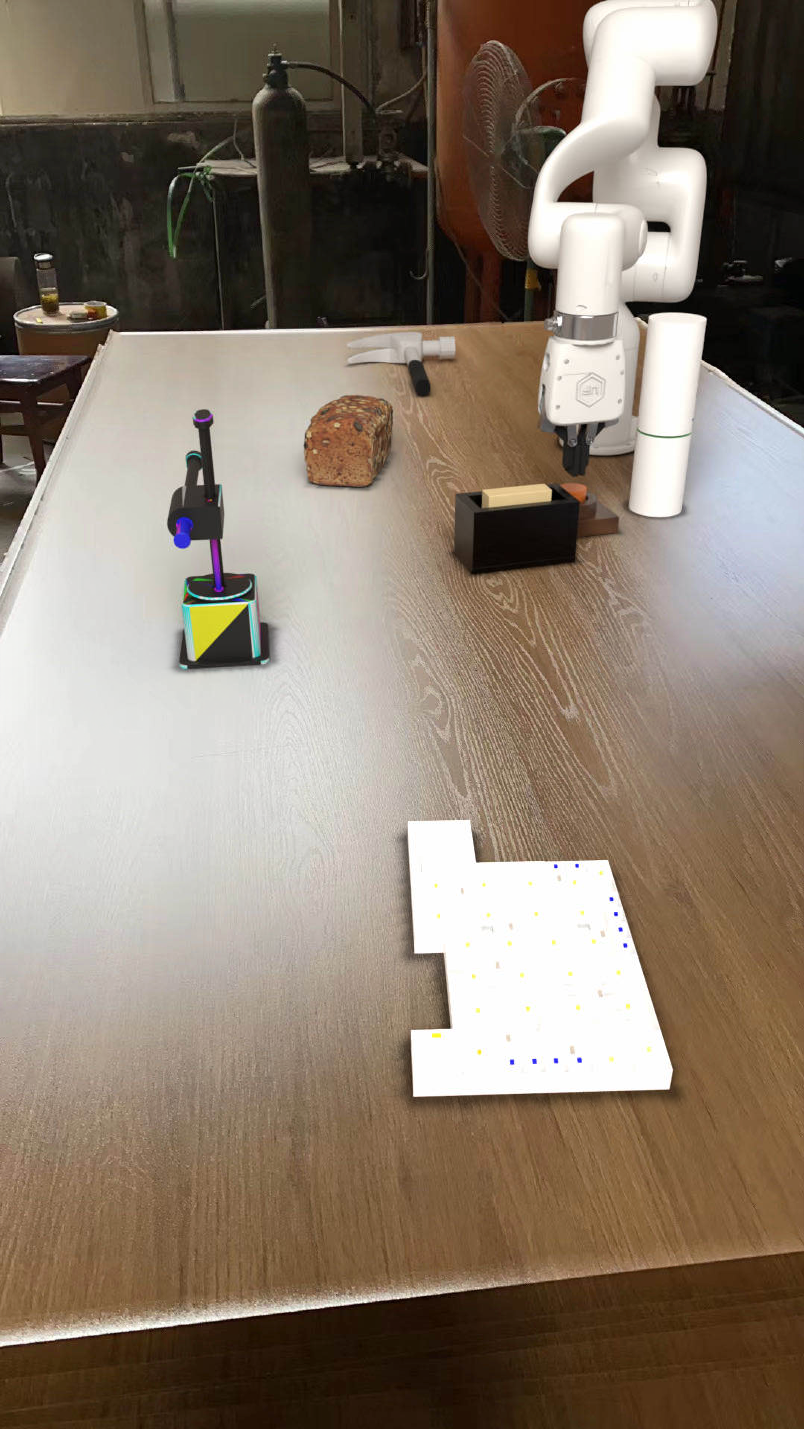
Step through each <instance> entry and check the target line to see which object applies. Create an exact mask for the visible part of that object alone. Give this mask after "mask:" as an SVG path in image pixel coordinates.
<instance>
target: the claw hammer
mask: <svg viewBox="0 0 804 1429" xmlns="http://www.w3.org/2000/svg"><path fill="white" fill-rule="evenodd" d="M455 338H456V337H455V336H438V339H434V340H432V339H431V340H429V339H428V340H423V334H422V332H420V331H400V332H398V331H396V332H390V333H381V334H375V335H369V336H366V337H362V338H359V339H356V340H352V341H350V342H348V343H347V349H349V350H359V349H370V350H367V351H363V352H360V353H357V354H354V355H352V356H349V358H348V359H347V364H359V363H388V364H389V363H390V364H406V365H407V368H408V374H409V375H410V378H411V381H412V385H413V388H414V390H415V392H416V395H418V396H420V397H426V396H429V394H430V392H431V382H430V379H429V377H428V375H427V372H426V369H425V367H424V364H423V362H422V361H423V357H438V359H439V360H454V359H455V357H456V348H457V346H456V339H455Z"/></svg>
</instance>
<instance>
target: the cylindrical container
mask: <svg viewBox="0 0 804 1429" xmlns="http://www.w3.org/2000/svg"><path fill="white" fill-rule="evenodd" d="M707 320H708V319H707V317H705V316H703V315H701V314H694V313H688V312H686V313H685V312H660V313H659V312H658V313H653V314H651V315H649V316H648V320H647V322H648V323H647V330H646V340H645V348H644V349H645V350H644V357H643V366H642V367H643V368H642V377H641V385H640V394H639V396H640V397H639V405H638V416H637V417H638V423H637V432H636V442H635V450H634V454H633V461H632V472H631V482H630V491H629V499H628V500H629V501H628V509H629V510H630V511H631V512H633V513H635V514H637V515H641V516H644V517H645V516H646V517H652V518H669V517H673V516H677V515H679V514H680V513H681V512H682V509H683V501H684V495H685V486H686V478H687V470H688V464H689V457H690V448H691V441H692V433H693V428H694V427H693V426H694V419H695V411H696V404H697V396H698V389H699V388H698V387H699V380H700V373H701V372H700V371H701V365H702V356H703V350H704V342H705V335H706V334H705V333H706V326H707Z"/></svg>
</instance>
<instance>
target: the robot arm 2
mask: <svg viewBox="0 0 804 1429" xmlns="http://www.w3.org/2000/svg"><path fill="white" fill-rule="evenodd" d="M214 423H215V422H214V414H213V412H212V411H211V410H210V409H207V408H202V409H197V410H196V411H195V412H194V413H193V414H192V425H193V426H194V428H195V429H197V430H198V431H197V432H198V439H199V440H198V441H199V450H194V449H193V450H190V451H188V452H187V453H186V455H185V467H186V473H185V474H186V475H185V480H184V485H182V486H179V487H178V488H177V489H175V491H174V492H173V494H172V495H171V499H170V506H169V510H168V515H167V519H166V526H167V531H168V532H169V533H170V535H171V536H172V537H173V544H174V546H175V547H176V548H178V549H181V550H185V549H187V548H189V547H190V546H191V543H192V542H193V541H209V550H210V560H211V569H212V573H208V574H204V575H193V576H187V577H186V578H185V579H184V583H183V590H182V595H181V596H182V597H181V613H182V620H183V631H182V635H181V636H182V637H181V644H180V650H179V651H180V652H179V660H178V665H179V667H180V669H182V670H192V669H207V668H208V669H209V668H210V669H211V668H225V667H227V668H228V667H245V666H260V665H261V666H262V665H266V664H268V663H270V634H269V633H270V630H269V623H267V622H264V621H261V616H260V603H259V592H258V591H259V590H258V589H259V588H258V579H257V578H258V577H257V575H255V573H235V572H234V573H233V572H224V564H223V553H222V552H223V551H222V542H221V540H223V538H224V526H225V506H224V494H223V486H222V484H221V483H216V480H215V478H216V477H215V468H214V459H213V458H214V457H213V449H212V437H211V427H212V426H213V425H214ZM201 470H202V471H201ZM200 471H201V472H202V481H203V484H198V482H199V481H198V480H199V473H200Z"/></svg>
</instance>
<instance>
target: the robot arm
mask: <svg viewBox="0 0 804 1429" xmlns="http://www.w3.org/2000/svg"><path fill="white" fill-rule="evenodd" d="M717 35H718V15H717V9H716V7H715V4H714V3H713V1H712V0H604V1H600V2H598V3H596V4H594V5H593V6H591V7H590V8H589V9H588V11H587V12H586V14H585V16H584V20H583V25H582V39H583V40H582V41H583V42H582V43H583V50H584V55H585V61H586V65H587V70H588V72H587V78H586V85H585V93H584V98H583V104H582V112H581V120H580V123H579V124H578V125H577V126H576V127H575V128H574V129H573V130H571V131H570V132H569V133H568V134H567V135H566V136H565V137H564V138H563V139H562V140H561V141H560V142H559V143H558V144H557V145H556V146H555V148H554V149H552V152H551V153H550V154H549V156H548V157H547V158H546V160H545V161H544V163H543V165H542V167H541V169H540V171H539V173H538V176H537V179H536V182H535V186H534V191H533V197H532V203H531V204H532V205H531V209H530V215H529V221H528V231H527V233H528V234H527V249H528V253H529V256H530V258H531V259H532V262H533V263H534V264H536V265H537V266H539V267H541V268H543V269H544V268H545V269H554V270H555V269H556V270H557V274H556V275H557V276H556V292H555V293H556V294H555V310H553V315H552V316H551V317H550V318H545V319H544V320H543V328H544V330H545V331H550V332H552V333H553V335H551V336H549V337H548V341H547V343H546V347H545V351H544V355H543V359H542V363H541V364H542V365H541V371H540V378H539V386H538V395H537V396H538V397H537V411H538V412H537V413H538V414H539V416H538V421H537V424H536V427H537V429H538V430H540V431H541V432H543V433H548V434H555V435H556V436H557V437H558V439H559V442H558V443H559V445H560V446H561V447H562V458H561V465H562V467H563V469H564V471H565V472H566V473H567V474H569V475H570V476H571V477H572V478H574V477H578V476H580V477H583V476H586V472H587V470H586V469H587V467H588V466H589V463H590V462H589V461H590V460H589V459H590V456H618V455H624V454H629V453H631V452H633V451H635V442H636V432H637V423H638V416H636V415H634V414H633V407H634V397H635V388H636V378H637V368H638V361H639V360H638V357H639V350H640V349H639V348H640V341H641V340H640V339H641V334H640V327H639V324H638V322H637V320H636V318H635V316H634V315H633V313H632V312H631V310H630V309H629V307H628V306H627V304H626V303H628V302H648V303H649V302H650V303H651V302H652V303H678V302H682V301H685V300H686V299H687V298H688V297H689V296H690V295H691V294H692V291H693V289H694V287H695V286H694V285H695V282H696V276H697V270H698V262H699V254H700V246H701V239H702V238H701V237H702V228H703V220H704V211H705V203H706V194H707V182H708V181H707V178H708V176H707V165H706V160H705V158H704V156H703V155H702V154H701V153H700V152H699V151H697V150H696V149H693V148H688V147H662V146H661V147H660V146H659V145H658V144H659V143H658V136H659V127H660V119H661V106H660V102H659V100H658V98H657V95H656V93H655V88H656V87H658V86H667V87H668V86H669V87H671V86H675V87H676V86H677V87H678V86H679V87H680V86H681V87H682V86H683V87H685V86H686V87H687V86H690V87H691V86H695V85H698V84H699V83H701V82H702V81H703V79H704V78H705V76H706V74H707V72H708V69H709V67H710V64H711V62H712V61H711V60H712V56H713V54H714V51H715V46H716V41H717ZM592 172H593V180H592V202H574V201H573V202H571V201H558V199H559V198H560V196H561V194H562V193H563V192H564V191H565V189H567V187H568V186H570V185H571V184H572V183H574V182H575V181H576V180H578V179H580V178H581V177H583V176H585V175H587V174H589V173H592ZM648 222H663V223H665V224H666V225H668V227H669V228H670V229H669V230H670V232H669V231H668V232H667V231H649V229H648V227H649V226H648Z"/></svg>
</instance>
